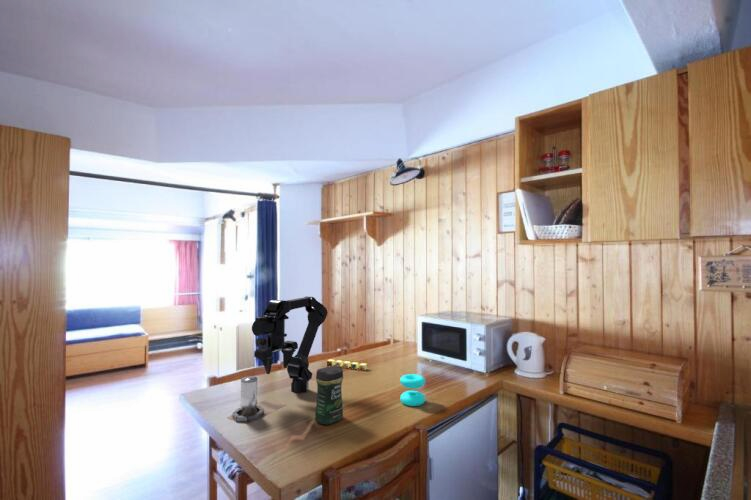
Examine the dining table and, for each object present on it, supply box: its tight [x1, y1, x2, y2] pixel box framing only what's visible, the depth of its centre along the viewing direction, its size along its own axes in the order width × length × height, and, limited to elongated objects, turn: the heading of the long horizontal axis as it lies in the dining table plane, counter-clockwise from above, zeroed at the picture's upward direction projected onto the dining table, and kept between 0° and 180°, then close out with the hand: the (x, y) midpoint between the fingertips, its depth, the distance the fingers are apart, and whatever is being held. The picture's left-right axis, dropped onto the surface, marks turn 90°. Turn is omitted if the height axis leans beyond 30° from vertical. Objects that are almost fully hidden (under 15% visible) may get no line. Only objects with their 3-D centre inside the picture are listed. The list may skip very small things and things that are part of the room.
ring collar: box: [231, 406, 264, 423], centre depth 123 cm, size 10×10×2 cm
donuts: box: [399, 373, 426, 407], centre depth 138 cm, size 10×10×10 cm
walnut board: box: [226, 399, 288, 426], centre depth 127 cm, size 19×11×1 cm, turn 151°
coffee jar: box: [314, 365, 344, 426], centre depth 123 cm, size 10×8×19 cm
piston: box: [240, 375, 258, 416], centre depth 124 cm, size 6×6×13 cm
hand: (276, 370), depth 137 cm, fingers open, 9 cm apart
